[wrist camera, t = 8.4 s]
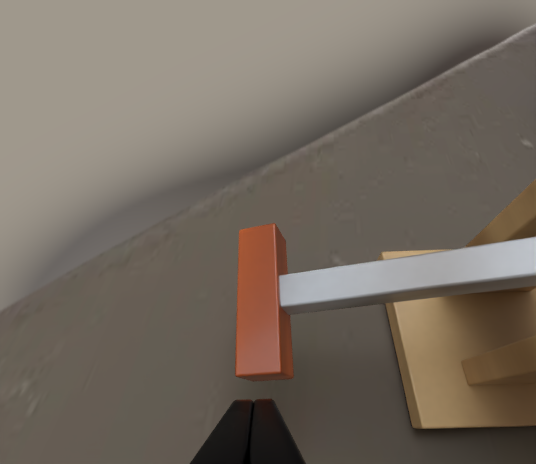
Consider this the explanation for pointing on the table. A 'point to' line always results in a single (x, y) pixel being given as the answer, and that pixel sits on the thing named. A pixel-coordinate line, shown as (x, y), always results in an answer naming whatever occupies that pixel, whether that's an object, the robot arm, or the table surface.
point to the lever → (352, 289)
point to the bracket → (471, 343)
